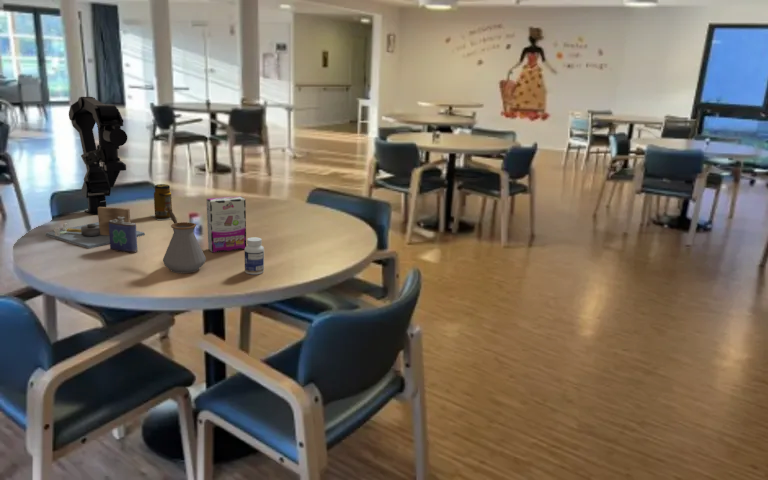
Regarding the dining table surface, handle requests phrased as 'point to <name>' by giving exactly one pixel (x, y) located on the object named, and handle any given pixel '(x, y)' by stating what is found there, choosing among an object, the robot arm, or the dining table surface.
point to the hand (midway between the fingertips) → (111, 187)
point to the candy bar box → (226, 223)
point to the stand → (82, 237)
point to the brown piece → (103, 221)
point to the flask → (123, 236)
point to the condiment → (162, 202)
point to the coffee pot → (183, 248)
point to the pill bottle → (254, 256)
